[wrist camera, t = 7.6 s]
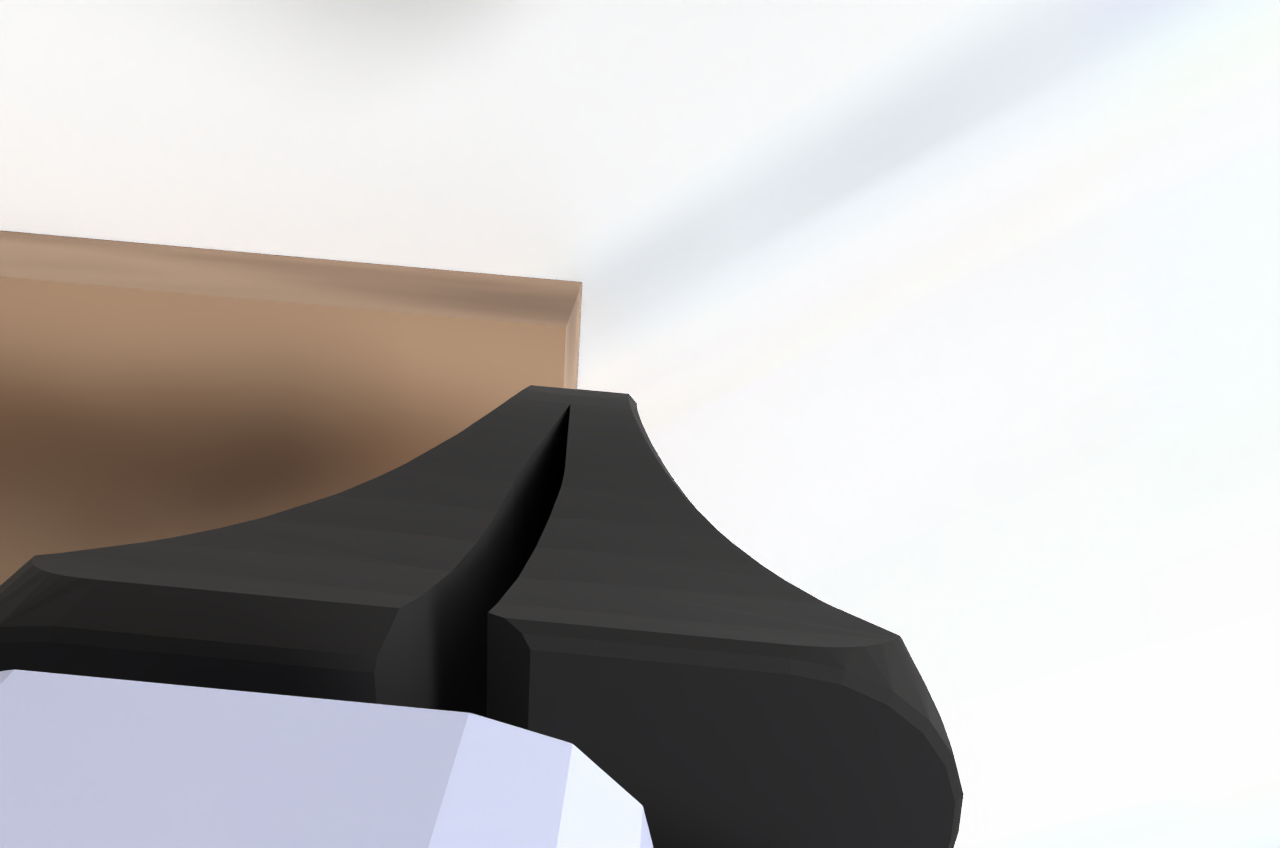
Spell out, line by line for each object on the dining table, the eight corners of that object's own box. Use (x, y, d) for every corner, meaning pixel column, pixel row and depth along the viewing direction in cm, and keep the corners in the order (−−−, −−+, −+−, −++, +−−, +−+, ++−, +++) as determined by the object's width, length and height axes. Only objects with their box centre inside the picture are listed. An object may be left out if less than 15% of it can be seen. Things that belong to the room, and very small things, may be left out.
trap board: (557, 788, 29) (542, 873, 26) (-219, 713, 29) (-313, 790, 26) (582, 282, 22) (565, 326, 19) (-442, 191, 22) (-603, 222, 19)
